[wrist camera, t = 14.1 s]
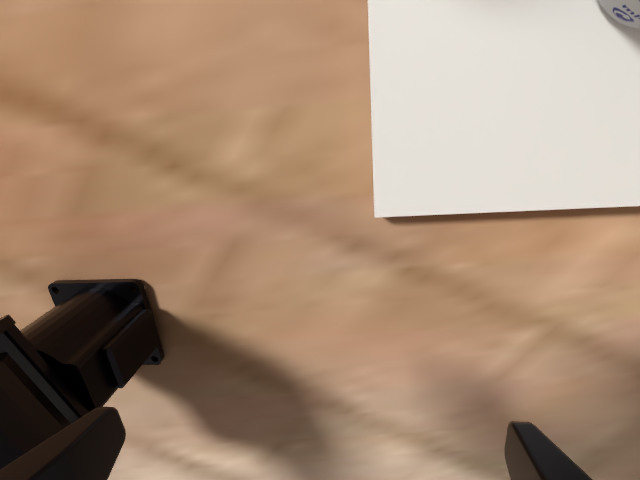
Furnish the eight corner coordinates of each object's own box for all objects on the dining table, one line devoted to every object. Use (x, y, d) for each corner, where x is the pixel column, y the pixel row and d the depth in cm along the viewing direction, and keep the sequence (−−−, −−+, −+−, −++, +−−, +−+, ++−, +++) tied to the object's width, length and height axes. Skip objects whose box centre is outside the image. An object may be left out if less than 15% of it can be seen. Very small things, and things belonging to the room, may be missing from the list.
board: (374, 210, 19) (374, 217, 18) (363, -125, 14) (363, -143, 13) (710, 195, 17) (734, 201, 16) (842, -210, 12) (889, -240, 11)
